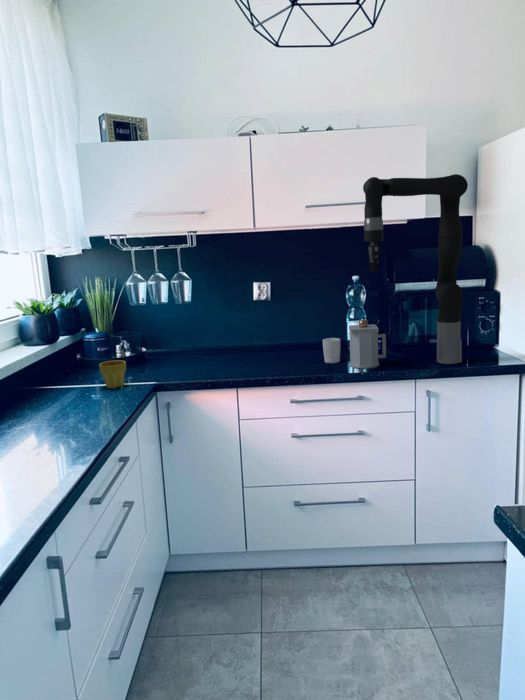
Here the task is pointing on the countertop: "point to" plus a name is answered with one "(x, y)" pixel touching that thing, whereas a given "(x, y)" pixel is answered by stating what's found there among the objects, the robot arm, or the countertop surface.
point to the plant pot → (113, 373)
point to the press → (365, 346)
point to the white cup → (331, 350)
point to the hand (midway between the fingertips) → (374, 271)
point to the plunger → (363, 323)
